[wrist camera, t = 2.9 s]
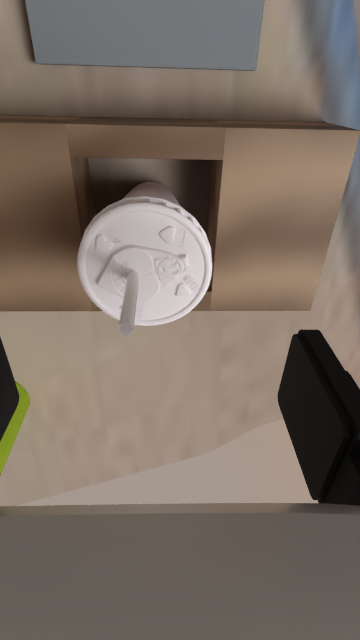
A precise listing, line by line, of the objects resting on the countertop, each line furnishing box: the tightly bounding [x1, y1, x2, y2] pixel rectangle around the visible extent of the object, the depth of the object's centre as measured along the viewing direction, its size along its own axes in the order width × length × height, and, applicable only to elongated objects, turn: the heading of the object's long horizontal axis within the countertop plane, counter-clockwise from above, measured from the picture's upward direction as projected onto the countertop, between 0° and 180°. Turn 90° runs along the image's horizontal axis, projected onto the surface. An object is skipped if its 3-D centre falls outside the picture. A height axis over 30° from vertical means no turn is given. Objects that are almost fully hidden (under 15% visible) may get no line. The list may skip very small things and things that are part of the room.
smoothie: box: [77, 182, 212, 335], centre depth 18 cm, size 6×6×14 cm
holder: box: [0, 115, 360, 311], centre depth 22 cm, size 11×22×4 cm, turn 89°
